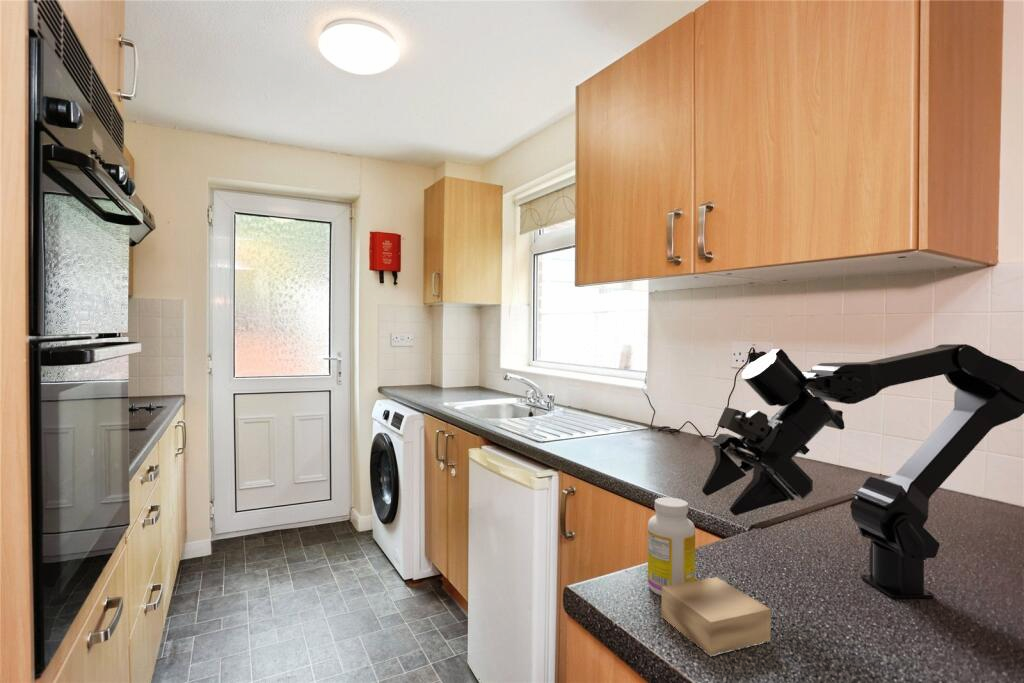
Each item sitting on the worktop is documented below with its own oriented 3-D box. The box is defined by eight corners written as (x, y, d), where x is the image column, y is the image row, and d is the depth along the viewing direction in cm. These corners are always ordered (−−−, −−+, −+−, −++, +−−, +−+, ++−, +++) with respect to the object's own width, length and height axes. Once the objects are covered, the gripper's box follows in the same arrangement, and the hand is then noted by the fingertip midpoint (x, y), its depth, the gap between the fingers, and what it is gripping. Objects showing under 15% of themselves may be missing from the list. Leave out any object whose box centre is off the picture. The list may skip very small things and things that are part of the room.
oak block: (770, 642, 61) (770, 609, 61) (710, 657, 58) (710, 622, 58) (716, 606, 69) (716, 577, 70) (661, 617, 66) (661, 586, 66)
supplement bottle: (688, 580, 77) (689, 496, 77) (700, 602, 70) (701, 509, 71) (643, 578, 78) (644, 494, 78) (651, 599, 71) (652, 507, 71)
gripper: (725, 384, 84) (658, 450, 84) (791, 395, 66) (706, 480, 65) (770, 432, 84) (704, 498, 84) (849, 456, 66) (765, 542, 65)
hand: (717, 502), depth 75 cm, fingers open, 9 cm apart
